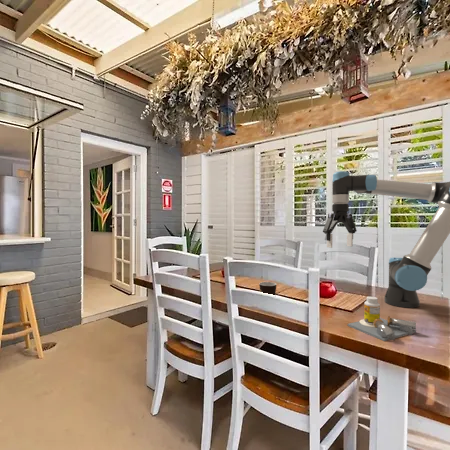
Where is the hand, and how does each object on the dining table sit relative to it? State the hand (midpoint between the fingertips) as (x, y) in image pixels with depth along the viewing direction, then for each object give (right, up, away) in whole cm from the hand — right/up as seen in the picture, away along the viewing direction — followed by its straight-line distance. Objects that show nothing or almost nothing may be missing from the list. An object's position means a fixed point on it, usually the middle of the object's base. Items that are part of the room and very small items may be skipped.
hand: (339, 246), depth 145 cm
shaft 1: (+2, -30, -37) cm, 48 cm away
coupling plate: (+4, -30, -30) cm, 43 cm away
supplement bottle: (+2, -29, -27) cm, 39 cm away
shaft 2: (+11, -30, -33) cm, 45 cm away
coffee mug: (-35, -29, +4) cm, 45 cm away
